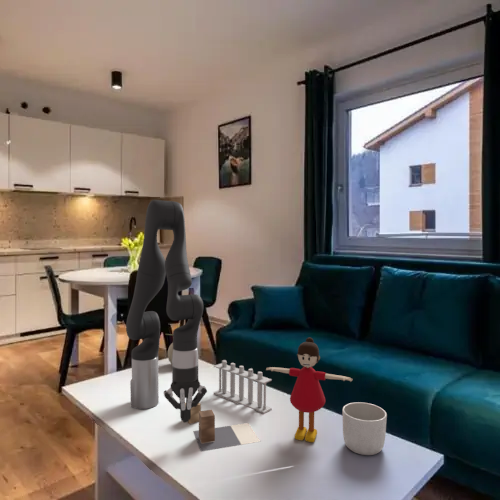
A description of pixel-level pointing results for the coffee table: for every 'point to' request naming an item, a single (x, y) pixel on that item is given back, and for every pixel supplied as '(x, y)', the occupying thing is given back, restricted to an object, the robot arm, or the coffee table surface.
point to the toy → (307, 387)
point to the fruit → (170, 351)
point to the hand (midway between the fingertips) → (185, 420)
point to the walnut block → (206, 426)
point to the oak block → (194, 413)
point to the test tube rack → (242, 386)
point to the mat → (229, 437)
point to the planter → (364, 427)
